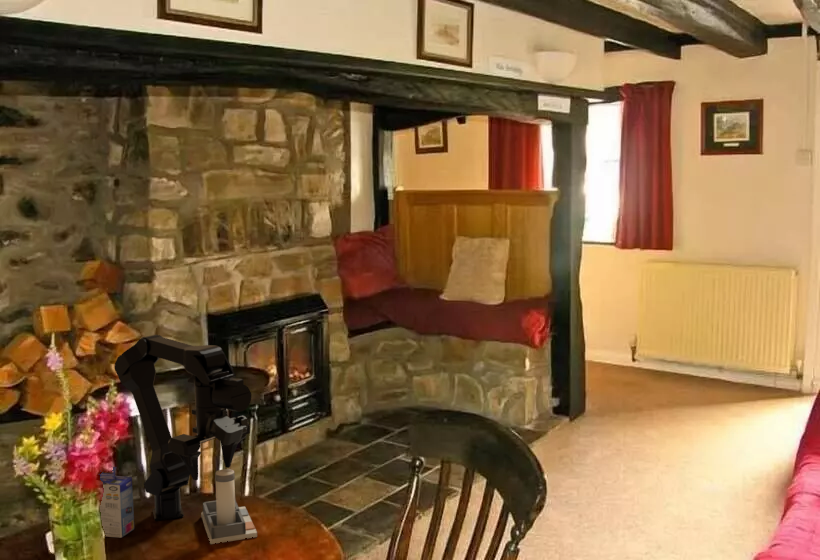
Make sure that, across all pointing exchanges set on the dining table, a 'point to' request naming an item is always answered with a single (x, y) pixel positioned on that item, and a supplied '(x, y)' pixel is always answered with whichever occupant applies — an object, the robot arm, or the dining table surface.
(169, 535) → the dining table surface
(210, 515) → the socket board
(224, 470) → the plug
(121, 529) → the ink cartridge box
